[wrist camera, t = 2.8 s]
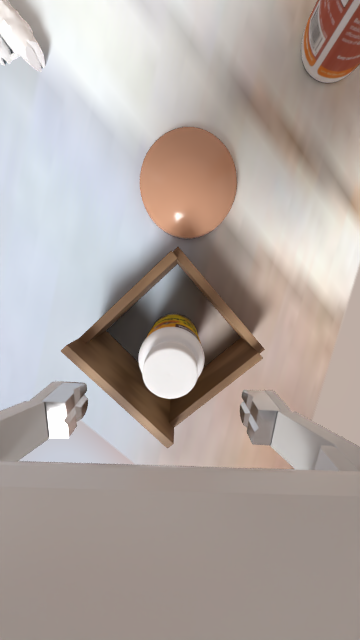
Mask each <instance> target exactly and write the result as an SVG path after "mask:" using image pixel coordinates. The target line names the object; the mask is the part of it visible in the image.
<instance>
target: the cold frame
mask: <svg viewBox="0 0 360 640" xmlns="http://www.w3.org/2000/svg"><path fill="white" fill-rule="evenodd" d="M177 264H178V265H179V266H180V267H181V268H182V270H183V271H184V272H185V273H186V274H187V275H188V277H189V278H190V279H191V280H192V281H193V282H194V284H195V285H196V286H197V287H198V288H199V289H200V291H201V292H202V293H203V294H204V295H205V296H206V298H207V299H208V300H209V301H210V302H211V303H212V304H213V306H214V307H215V308H216V309H217V310H218V311H219V313H220V314H221V315H222V316H223V317H224V318H225V320H226V321H227V322H228V323H229V324H230V325H231V327H232V328H233V329H234V330H235V331H236V332H237V334H238V335H239V336H240V337H241V338H240V339H239V340H237V341H236V342H235V343H234V344H232V345H231V346H230V347H229V348H228V349H226V350H225V351H224V352H223V353H221V354H220V355H219V356H218V357H216V358H215V359H214V360H213V361H212V362H210V363H209V364H208V365H207V366H205V367H204V368H203V370H202V372H201V374H200V376H199V377H198V379H197V381H196V384H195V386H194V387H193V388H192V390H191V391H190V392H188V393H187V394H186V395H184V396H182V397H179V398H174V399H167V398H162V397H159V396H157V395H155V394H154V393H152V392H151V391H150V390H149V389H148V388H147V386H146V385H145V383H144V380H143V376H142V372H141V370H140V367H139V363H138V362H137V361H136V360H135V359H134V358H133V357H132V356H131V355H130V354H129V353H128V352H127V351H126V350H125V349H124V348H123V347H122V346H121V345H120V344H119V343H118V342H117V341H116V340H115V339H114V338H113V337H112V336H111V335H110V334H109V333H108V332H107V331H106V330H107V329H108V328H109V327H110V326H111V325H113V324H114V323H115V322H116V321H117V320H118V319H119V318H120V317H121V316H122V315H123V314H124V313H125V312H126V311H128V310H129V309H130V308H131V307H132V306H133V305H134V304H135V303H136V302H137V301H138V300H139V299H140V298H141V297H143V296H144V295H145V294H146V293H147V292H148V291H149V290H150V289H151V288H152V287H153V286H154V285H155V284H156V283H158V282H159V281H160V280H161V279H162V278H163V277H164V276H165V275H166V274H167V273H168V272H169V271H170V270H171V269H173V268H174V267H175V266H176V265H177ZM263 350H265V349H264V348H263V347H262V346H261V344H260V343H259V342H258V341H257V340H256V339H255V337H254V336H253V335H252V334H251V333H250V331H249V330H248V329H247V328H246V327H245V325H244V324H243V323H242V322H241V321H240V320H239V318H238V317H237V316H236V315H235V314H234V312H233V311H232V310H231V309H230V308H229V306H228V305H227V304H226V303H225V302H224V301H223V299H222V298H221V297H220V296H219V295H218V293H217V292H216V291H215V290H214V289H213V287H212V286H211V285H210V284H209V283H208V282H207V280H206V279H205V278H204V277H203V276H202V274H201V273H200V272H199V271H198V270H197V269H196V267H195V266H194V265H193V264H192V263H191V261H190V260H189V259H188V258H187V257H186V255H185V254H184V253H183V252H182V251H181V250H180V248H179V247H177V248H176V249H175V250H174V251H173V252H172V251H170V252H169V253H168V254H167V255H166V256H165V257H164V258H163V259H162V260H161V261H160V262H159V263H158V264H157V265H156V266H155V267H154V268H153V269H151V270H150V271H149V272H148V273H147V274H146V275H145V276H144V277H143V278H142V279H141V280H140V281H139V282H138V283H137V284H136V285H135V286H134V287H133V288H132V289H130V290H129V291H128V292H127V293H126V294H125V295H124V296H123V297H122V298H121V299H120V300H119V301H118V302H117V303H116V304H115V305H114V306H113V307H112V308H110V309H109V310H108V311H107V312H106V313H105V314H104V315H103V316H102V317H101V318H100V319H99V320H98V321H97V322H96V323H95V324H94V325H93V326H92V327H91V328H89V329H88V330H87V331H86V332H85V333H84V334H83V335H82V336H81V337H80V338H79V339H77V340H75V341H73V342H71V343H70V344H68V345H66V346H65V347H64V348H63V349H62V350H61V352H62V353H63V354H64V355H65V356H67V357H68V358H69V359H70V360H71V361H72V362H73V363H74V364H75V365H76V366H78V367H79V368H80V369H81V370H82V371H83V372H84V373H85V374H86V375H87V376H89V377H90V378H91V379H92V380H93V381H94V382H95V383H96V384H97V385H98V386H99V387H101V388H102V389H103V390H104V391H105V392H106V393H107V394H108V395H109V396H110V397H112V398H113V399H114V400H115V401H116V402H117V403H118V404H119V405H120V406H121V407H123V408H124V409H125V410H126V411H127V412H128V413H129V414H130V415H131V416H132V417H133V418H135V419H136V420H137V421H138V422H139V423H140V424H141V425H142V426H143V427H144V428H146V429H147V430H148V431H149V432H150V433H151V434H152V435H153V436H154V437H155V438H157V439H158V440H159V441H160V442H161V443H162V444H163V445H164V446H165V447H166V448H169V447H170V446H171V445H173V443H174V427H175V426H177V425H178V424H179V423H181V422H182V421H183V420H184V419H186V418H187V417H188V416H189V415H191V414H192V413H193V412H195V411H196V410H197V409H198V408H200V407H201V406H202V405H204V404H205V403H206V402H207V401H209V400H210V399H211V398H213V397H214V396H215V395H216V394H218V393H219V392H220V391H222V390H223V389H224V388H225V387H227V386H228V385H229V384H231V383H232V382H233V381H234V380H236V379H237V378H238V377H240V376H241V375H242V374H243V373H245V372H246V371H247V370H248V369H250V368H251V367H252V366H254V365H255V364H256V363H257V362H259V361H260V360H261V359H263V358H262V356H261V355H260V353H261V352H262V351H263Z"/></svg>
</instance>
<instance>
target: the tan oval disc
mask: <svg viewBox="0 0 360 640" xmlns="http://www.w3.org/2000/svg"><path fill="white" fill-rule="evenodd" d="M236 187H237V177H236V169H235V165H234V162H233V159H232V157H231V155H230V153H229V151H228V149H227V148H226V146H225V145H224V144H223V143H222V142H221V141H220V140H219V139H218V138H217V137H216V136H214V135H213V134H211V133H210V132H208V131H206V130H203V129H200V128H195V127H182V128H177V129H174V130H171V131H169V132H167V133H166V134H164V135H163V136H161V137H160V138H159V139H158V140H157V141H156V142H155V143H154V144H153V145H152V146H151V148H150V149H149V151H148V152H147V154H146V156H145V159H144V161H143V164H142V168H141V173H140V191H141V197H142V200H143V203H144V206H145V208H146V210H147V212H148V214H149V216H150V218H151V219H152V220H153V222H154V223H155V224H156V225H157V226H158V227H159V228H160V229H162V230H163V231H164V232H166V233H168V234H170V235H172V236H174V237H178V238H184V239H191V238H197V237H201V236H204V235H206V234H208V233H209V232H211V231H213V230H214V229H215V228H216V227H218V225H219V224H220V223H221V222H222V221H223V220H224V218H225V217H226V216H227V214H228V212H229V211H230V209H231V206H232V204H233V202H234V198H235V194H236Z"/></svg>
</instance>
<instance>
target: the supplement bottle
mask: <svg viewBox="0 0 360 640" xmlns="http://www.w3.org/2000/svg"><path fill="white" fill-rule="evenodd" d="M204 359H205V357H204V351H203V348H202V345H201V342H200V339H199V337H198V334H197V331H196V328H195V326H194V324H193V323H192V322H191V320H190V319H188V318H187V317H185V316H183V315H181V314H167V315H165V316H163V317H161V318H160V319H158V320H157V321H156V323H155V324H154V326H153V327H152V329H151V331H150V332H149V334H148V335H147V337H146V339H145V340H144V342H143V343H142V346H141V348H140V351H139V356H138V361H139V367H140V370H141V372H142V376H143V380H144V383H145V385H146V386H147V388H148V389H149V390H150V391H151V392H152V393H154V394H155V395H157V396H159V397H162V398H167V399H174V398H179V397H182V396H184V395H186V394H187V393H188V392H190V391H191V390H192V388H193V387H194V386H195V384H196V381H197V379H198V377H199V376H200V374H201V372H202V370H203V367H204Z"/></svg>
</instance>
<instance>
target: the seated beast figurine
mask: <svg viewBox="0 0 360 640" xmlns="http://www.w3.org/2000/svg"><path fill="white" fill-rule="evenodd" d="M2 37H3V39H4V40H5V42H6V43H7V44H6V43H5V42H4V40H3V39H2ZM10 48H11V49H12V50H13V51H14V53H12V54H11V52H10ZM18 57H23V59H24V60H25V61H26V62H27V63H28V64H29V65H31V66H32V67H33V68H34V69H35V70H37V71H39V72H42V67H45V60H44V55H43V52H42V50H41V48H40V46H39V44H38V42H37V40H36V39H35V38H34V36H33V31H32V29H31V27H30V25H29V24H28V23H27V22H26V21H25V20H24V19H23V18H22V17H21V16H20V14H19V12H18V11H17V10H15V9H14V8H13V7H12V6H11V5H10V3H9V1H8V0H0V63H1V64H2V65H4V66H6V65H5V63H4V60H5V61H6V62H7V63H8V64H10V63H11V62H12V60H14V59H16V58H18ZM3 59H4V60H3ZM41 66H42V67H41Z"/></svg>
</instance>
